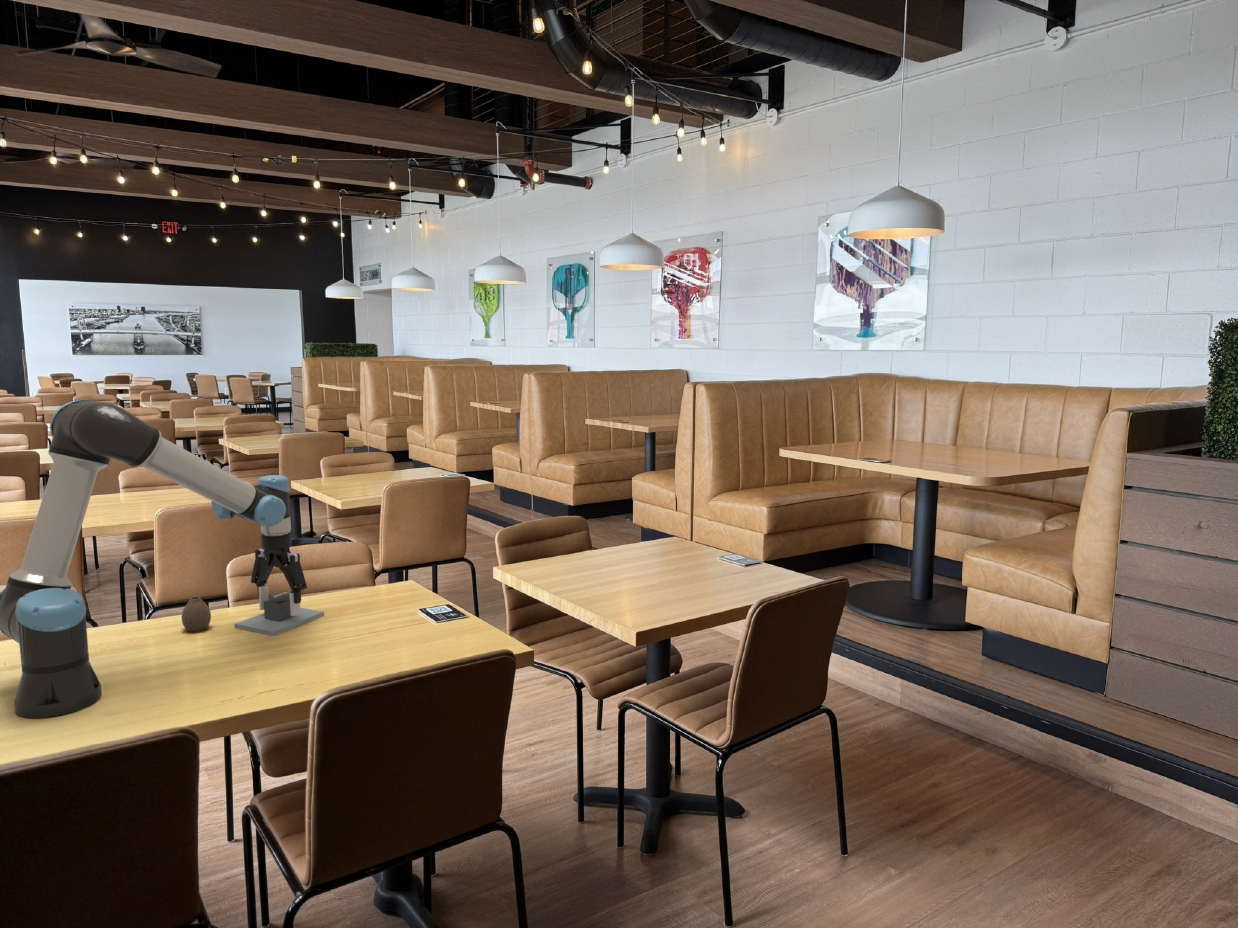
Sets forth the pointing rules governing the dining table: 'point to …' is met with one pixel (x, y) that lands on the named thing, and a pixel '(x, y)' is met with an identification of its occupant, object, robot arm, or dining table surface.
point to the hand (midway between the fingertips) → (279, 611)
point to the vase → (196, 615)
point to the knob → (277, 606)
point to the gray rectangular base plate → (278, 622)
